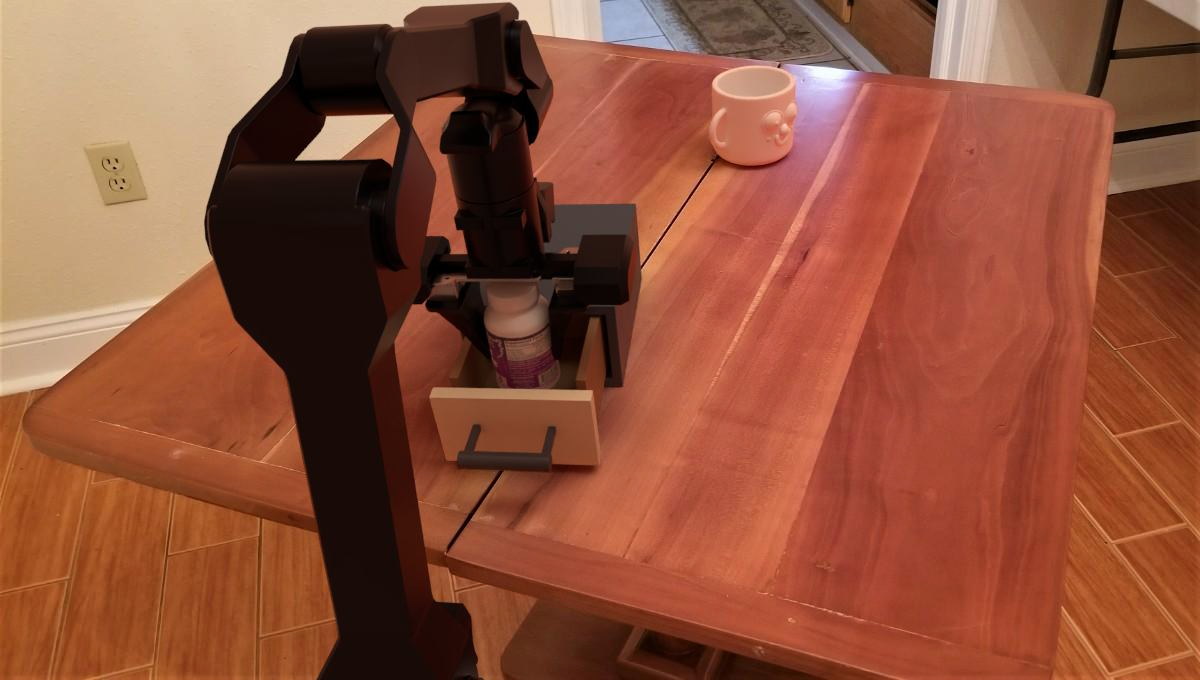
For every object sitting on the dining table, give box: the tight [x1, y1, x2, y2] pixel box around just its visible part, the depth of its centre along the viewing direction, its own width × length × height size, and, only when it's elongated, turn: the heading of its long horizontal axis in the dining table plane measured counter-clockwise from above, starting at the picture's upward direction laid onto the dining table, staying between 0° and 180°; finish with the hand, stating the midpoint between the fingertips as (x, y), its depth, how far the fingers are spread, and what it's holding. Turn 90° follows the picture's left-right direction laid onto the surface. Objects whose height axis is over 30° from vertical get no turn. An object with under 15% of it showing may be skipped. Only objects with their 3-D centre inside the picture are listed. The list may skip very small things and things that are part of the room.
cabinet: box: [460, 203, 643, 387], centre depth 88 cm, size 17×14×9 cm
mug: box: [708, 65, 799, 166], centre depth 111 cm, size 12×10×9 cm
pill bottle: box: [484, 282, 560, 390], centre depth 74 cm, size 5×5×10 cm
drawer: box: [428, 314, 610, 473], centre depth 77 cm, size 20×13×7 cm, turn 172°
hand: (525, 356), depth 76 cm, fingers closed on pill bottle, 5 cm apart
